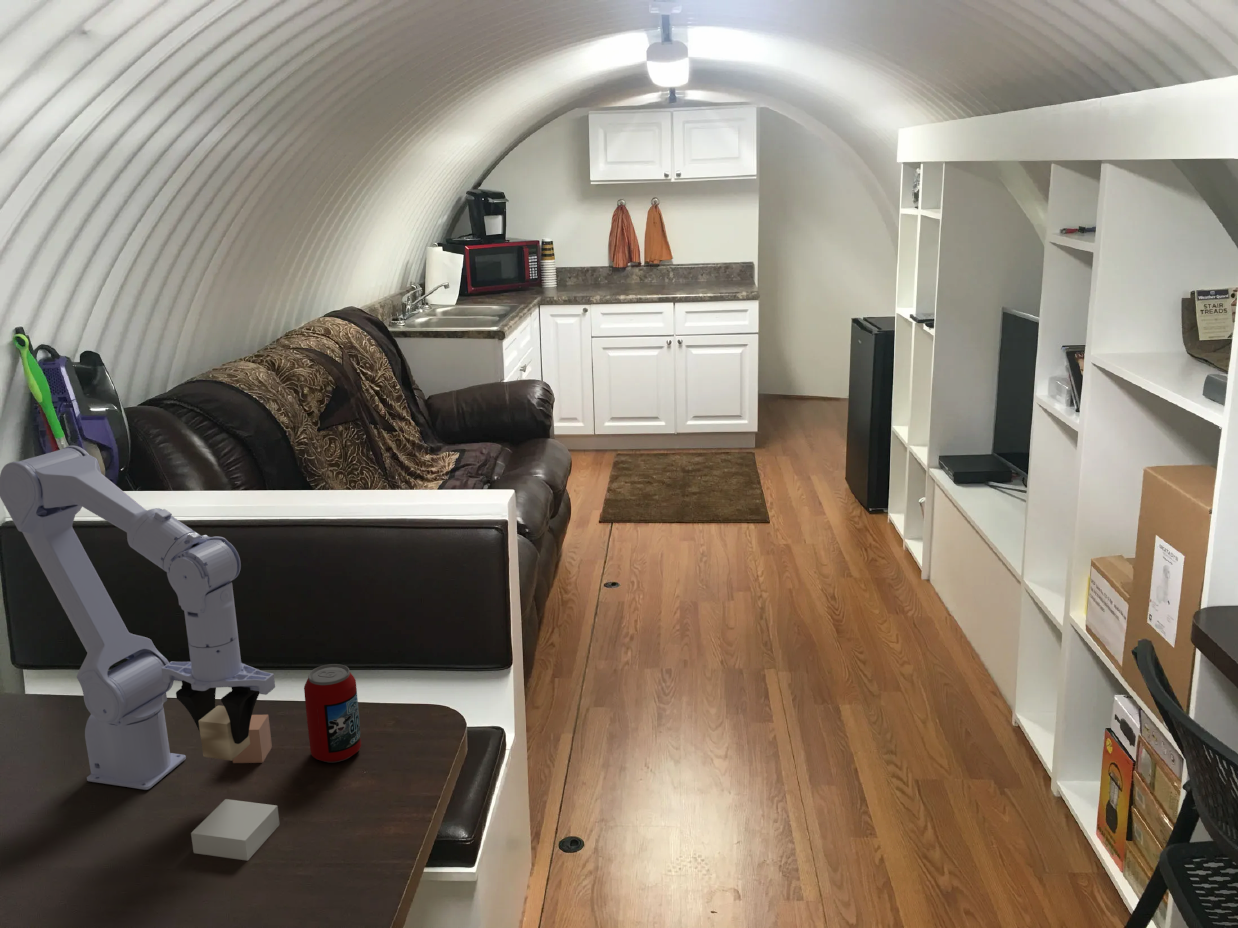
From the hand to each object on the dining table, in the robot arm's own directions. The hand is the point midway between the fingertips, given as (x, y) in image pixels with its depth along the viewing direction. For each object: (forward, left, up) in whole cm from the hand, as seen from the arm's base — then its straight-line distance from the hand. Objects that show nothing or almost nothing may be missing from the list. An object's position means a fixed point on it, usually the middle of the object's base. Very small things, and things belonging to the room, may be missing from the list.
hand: (225, 737), depth 131 cm
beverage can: (+8, +12, -8) cm, 17 cm away
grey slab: (+6, -8, -9) cm, 13 cm away
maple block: (0, 0, -2) cm, 2 cm away
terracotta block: (-3, +9, -8) cm, 13 cm away
